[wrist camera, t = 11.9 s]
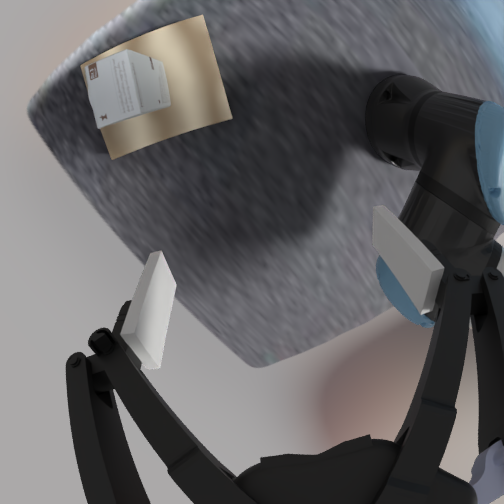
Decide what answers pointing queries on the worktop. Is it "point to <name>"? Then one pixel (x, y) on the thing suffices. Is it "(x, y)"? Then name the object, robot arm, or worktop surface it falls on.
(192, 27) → the base block
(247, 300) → the worktop surface
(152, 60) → the skincare box
